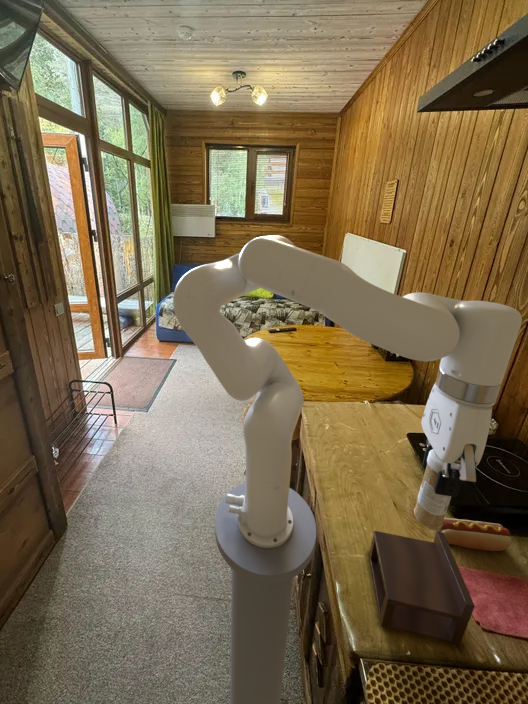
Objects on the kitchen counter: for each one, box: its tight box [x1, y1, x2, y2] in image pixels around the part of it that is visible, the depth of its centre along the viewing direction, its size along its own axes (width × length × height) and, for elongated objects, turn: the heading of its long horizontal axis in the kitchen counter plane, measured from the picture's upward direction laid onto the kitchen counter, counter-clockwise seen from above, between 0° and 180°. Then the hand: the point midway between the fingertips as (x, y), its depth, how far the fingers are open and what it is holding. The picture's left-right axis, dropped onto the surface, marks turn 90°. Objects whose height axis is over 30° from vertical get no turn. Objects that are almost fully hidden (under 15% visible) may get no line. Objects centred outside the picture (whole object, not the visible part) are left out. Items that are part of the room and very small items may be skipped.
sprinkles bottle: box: [413, 449, 459, 531], centre depth 52 cm, size 5×5×14 cm
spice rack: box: [368, 530, 476, 647], centre depth 55 cm, size 12×12×10 cm
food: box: [436, 517, 513, 552], centre depth 66 cm, size 14×6×5 cm, turn 83°
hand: (438, 479), depth 51 cm, fingers closed on sprinkles bottle, 4 cm apart
